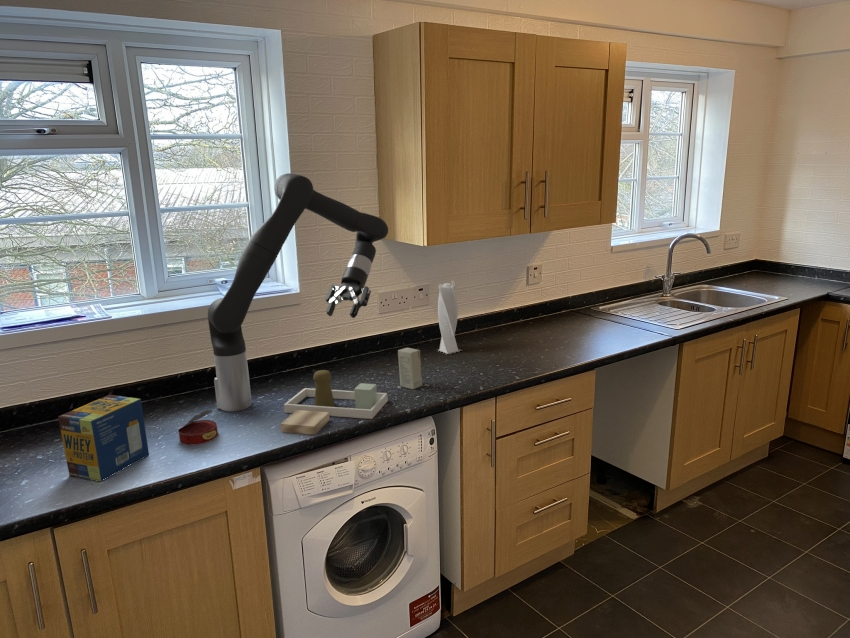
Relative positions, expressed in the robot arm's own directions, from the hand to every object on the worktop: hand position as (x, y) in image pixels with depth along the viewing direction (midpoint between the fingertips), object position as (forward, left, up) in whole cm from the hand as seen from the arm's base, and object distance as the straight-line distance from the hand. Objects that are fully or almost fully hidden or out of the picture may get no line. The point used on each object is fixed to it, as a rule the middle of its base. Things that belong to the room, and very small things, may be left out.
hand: (340, 315), depth 192 cm
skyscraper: (+23, +49, -26) cm, 60 cm away
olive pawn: (-2, -11, -26) cm, 28 cm away
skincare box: (+19, +10, -26) cm, 33 cm away
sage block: (+11, -11, -25) cm, 30 cm away
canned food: (-27, -38, -26) cm, 54 cm away
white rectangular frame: (+2, -11, -25) cm, 28 cm away
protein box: (-39, -57, -26) cm, 74 cm away
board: (-1, -26, -25) cm, 36 cm away
